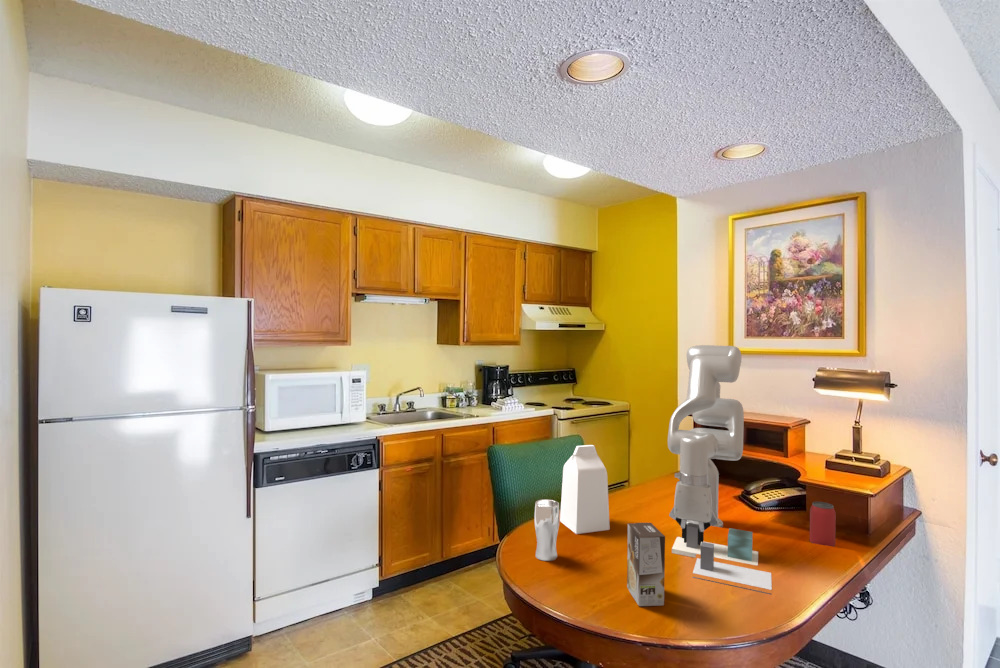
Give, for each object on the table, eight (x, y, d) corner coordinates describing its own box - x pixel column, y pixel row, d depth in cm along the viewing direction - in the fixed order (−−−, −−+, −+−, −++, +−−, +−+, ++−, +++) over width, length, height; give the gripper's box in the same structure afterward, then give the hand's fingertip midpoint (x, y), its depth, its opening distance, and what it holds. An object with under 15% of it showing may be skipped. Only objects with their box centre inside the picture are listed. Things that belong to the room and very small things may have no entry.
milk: (576, 534, 161) (577, 450, 161) (559, 521, 172) (561, 443, 172) (609, 529, 165) (610, 448, 165) (591, 517, 176) (592, 441, 176)
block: (727, 556, 143) (727, 535, 143) (728, 548, 148) (729, 528, 148) (751, 561, 140) (752, 539, 140) (752, 553, 145) (752, 532, 145)
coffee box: (665, 606, 119) (666, 536, 119) (638, 607, 119) (639, 537, 119) (650, 586, 128) (651, 522, 128) (625, 587, 128) (626, 522, 128)
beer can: (839, 549, 152) (839, 509, 152) (814, 547, 154) (815, 507, 154) (829, 540, 159) (830, 501, 159) (806, 538, 160) (806, 500, 160)
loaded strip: (671, 552, 148) (672, 527, 148) (677, 540, 156) (677, 516, 156) (757, 570, 137) (758, 543, 137) (758, 555, 146) (758, 530, 146)
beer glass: (561, 553, 147) (561, 500, 147) (555, 563, 140) (556, 508, 140) (537, 549, 149) (538, 497, 149) (530, 559, 143) (531, 505, 143)
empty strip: (692, 577, 133) (693, 549, 133) (697, 562, 142) (697, 536, 142) (771, 594, 124) (772, 565, 124) (771, 577, 133) (771, 549, 133)
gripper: (662, 478, 150) (661, 541, 150) (723, 486, 143) (722, 553, 143) (666, 472, 157) (665, 532, 157) (725, 479, 149) (724, 543, 149)
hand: (692, 541), depth 150 cm, fingers closed on loaded strip, 3 cm apart
